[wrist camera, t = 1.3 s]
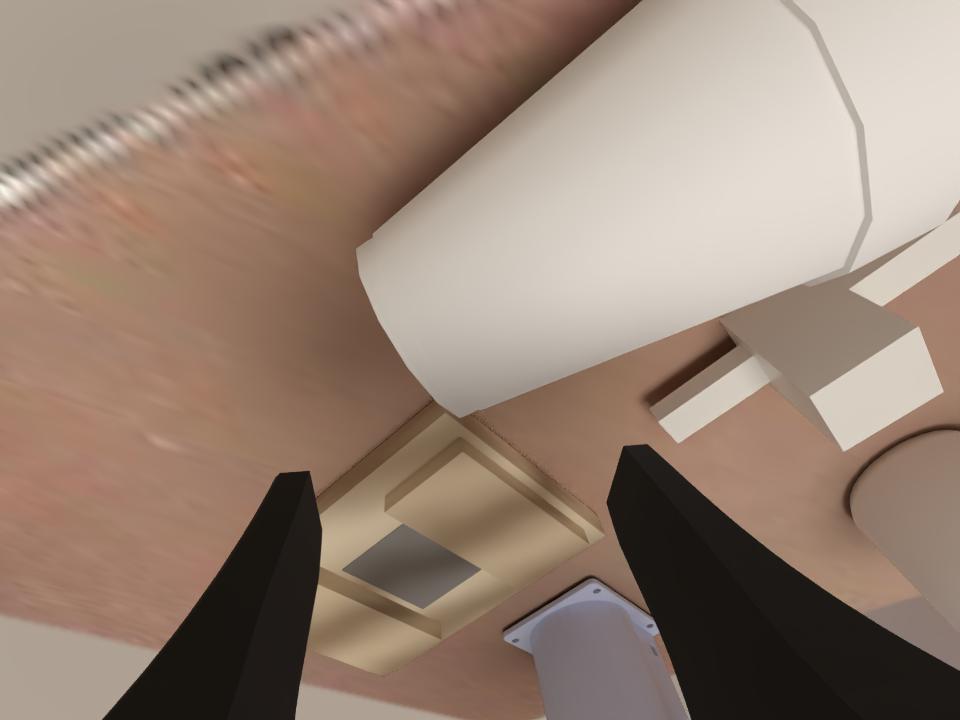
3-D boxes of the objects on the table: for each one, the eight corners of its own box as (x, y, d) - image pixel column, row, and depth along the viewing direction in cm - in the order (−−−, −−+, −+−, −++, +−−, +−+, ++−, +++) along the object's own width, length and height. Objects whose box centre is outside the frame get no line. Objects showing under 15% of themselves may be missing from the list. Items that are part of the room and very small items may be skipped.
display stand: (596, 514, 29) (612, 551, 27) (396, 647, 33) (396, 687, 31) (443, 392, 23) (447, 427, 20) (223, 575, 27) (208, 619, 25)
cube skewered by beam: (930, 248, 22) (1086, 305, 17) (669, 427, 26) (733, 518, 21) (908, 181, 20) (1076, 224, 15) (630, 385, 24) (690, 473, 19)
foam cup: (475, 356, 22) (751, 198, 20) (517, 525, 14) (980, 295, 12) (337, 166, 17) (685, -75, 15) (284, 265, 9) (1003, -213, 7)
